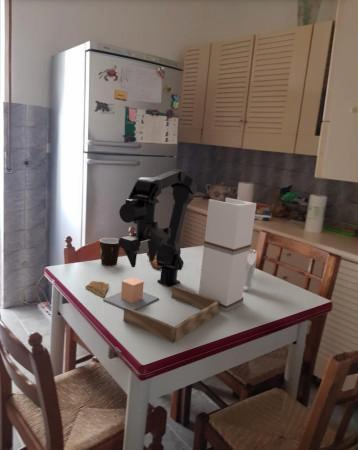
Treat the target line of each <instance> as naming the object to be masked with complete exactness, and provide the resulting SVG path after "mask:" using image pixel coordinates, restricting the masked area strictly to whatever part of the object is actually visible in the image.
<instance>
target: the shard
mask: <svg viewBox="0 0 358 450" xmlns="http://www.w3.org/2000/svg"><path fill="white" fill-rule="evenodd" d="M109 285H110V284H109V283H108V282H105V281H97V280H91V281H90V282H89V283H88V284H87V285H85V286H84V287H85V289H87V290H90V291H91V292H93V294H94V293H95V294H96V295H98V296H100V297H102V298H105V294H106V292H107V290H108V288H109Z"/></svg>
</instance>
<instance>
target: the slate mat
mask: <svg viewBox="0 0 358 450" xmlns="http://www.w3.org/2000/svg"><path fill="white" fill-rule="evenodd" d="M102 300H103V302H106V303H108V304H110V305H112V306H115V307H118V308H119V309H122V310H124V308H125V307H128V308H131V309H133V310H136V311H137V310H139V309H141V308H143V307H146V306H148V305H150V304H152V303H154V302H156V301H158V300H160V298H159V297H157V296H155V295H152V294H149V293H147V292H145V291H143V298H142V299H140V300H138V301H136V302H133V303H131V302H129V301H126V300H124V299H121V291H119V292H117V293H115V294H113V295H110V296H108V297H103V299H102Z"/></svg>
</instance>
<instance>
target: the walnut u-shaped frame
mask: <svg viewBox="0 0 358 450" xmlns="http://www.w3.org/2000/svg"><path fill="white" fill-rule="evenodd" d="M171 288H172V289H171V298H173V299H175V300H177V301H180V302H183V303H186V304H189V305H190V306H194V307H197V308H199V309H200V311H199V310H198V312H196V313H194V314H192V315H190V316H189V317H188V318H186V319H184V320H183V321H181V322H179V323H177V324H176V325H174V326H173V325H171V324H169V323H167V322H164V321H162V320H159V319H156V318H155V317H151V316H150V315H147V314H145V313H142V312H139V311H137V310H133V309H131V308H128V307H125V308H124V309H123V321H124V322H126V323H128V324H131V326H132V325H133V326H135V327H136V328H139V329H142V330H143V331H146V332H148V333H151V334H152V335H155V336H157V337H159V338H161V339H163V340H165V341H168V342H170V343H173V344H174V343H176V342H177V341H178V340H180V339H181V338H184V337H185V336H187V335H188V334H189V333H191V332H192V331H194V330H196V329H197V328H198V327H200V326H202V325H203V324H205V323H206V322H208V321H210V320H211V319H213V318H214V317H215V316H217V315H218V314H219V313H220V309H219V307H220V301H217V300H214V299H211V298H208V297H205V296H202V295H200V294H199V293H197V292H193V291H191V290H187V289H185V288H183V287H179V286H176V285H173V286H171Z"/></svg>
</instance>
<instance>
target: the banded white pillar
mask: <svg viewBox="0 0 358 450" xmlns="http://www.w3.org/2000/svg"><path fill="white" fill-rule="evenodd" d="M224 200H225V201H221V200H216V199H212V198H211V199H208V206H207V214H206V225H205V232H204V233H205V234H204V241H203V243H204V244H203V251H202V260H201V269H200V271H201V272H200V280H199V288H198V294H200V295H202V296H205V297H208V298H211V299H214V300H217V301H220V307H219V311H220V310H221V311H222V310H223V312H225V313H226V311H227V312H229V311H231V310H233V309H234V307H235V308H236V306H237V307H239V306H240V305H242V304H244V297H243V292H244V291H243V286H244V279H245V272H246V264H247V257H248V254H250V249H251V247H252V238H253V233H254V225H255V224H254V223H255V217H256V210H257V203H256V202H251V201H245V200H240V199H236V198H231V197H225V199H224ZM232 308H233V309H232ZM230 309H231V310H230ZM228 310H229V311H228Z"/></svg>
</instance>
